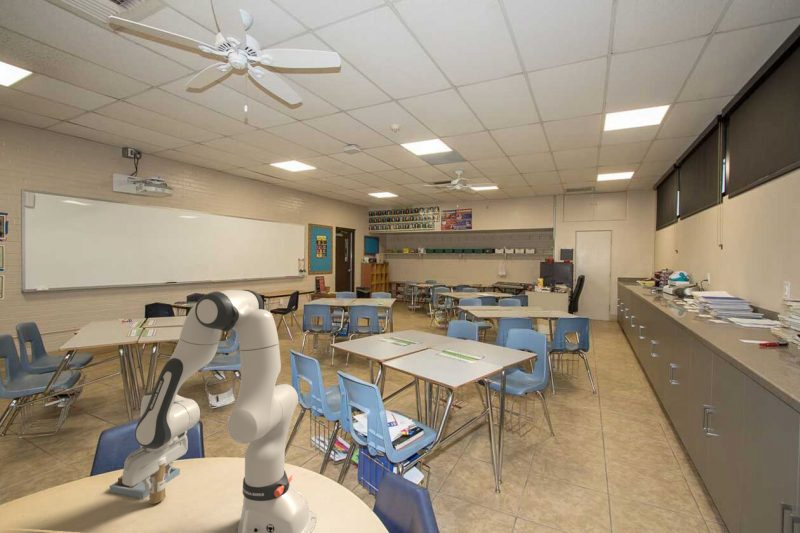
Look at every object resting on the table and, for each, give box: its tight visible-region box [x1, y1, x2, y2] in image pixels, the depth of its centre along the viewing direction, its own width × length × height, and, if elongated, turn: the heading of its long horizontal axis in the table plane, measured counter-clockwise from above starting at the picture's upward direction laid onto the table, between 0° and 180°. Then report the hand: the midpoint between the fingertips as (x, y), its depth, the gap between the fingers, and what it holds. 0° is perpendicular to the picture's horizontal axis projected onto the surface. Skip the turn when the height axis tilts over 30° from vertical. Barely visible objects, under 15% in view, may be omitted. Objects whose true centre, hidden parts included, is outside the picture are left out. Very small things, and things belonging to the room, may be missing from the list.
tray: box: [109, 466, 181, 499], centre depth 121 cm, size 14×14×2 cm
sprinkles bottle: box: [148, 457, 167, 504], centre depth 112 cm, size 5×5×14 cm
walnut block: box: [117, 474, 139, 488], centre depth 119 cm, size 4×4×4 cm
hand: (157, 482), depth 112 cm, fingers closed on sprinkles bottle, 4 cm apart
